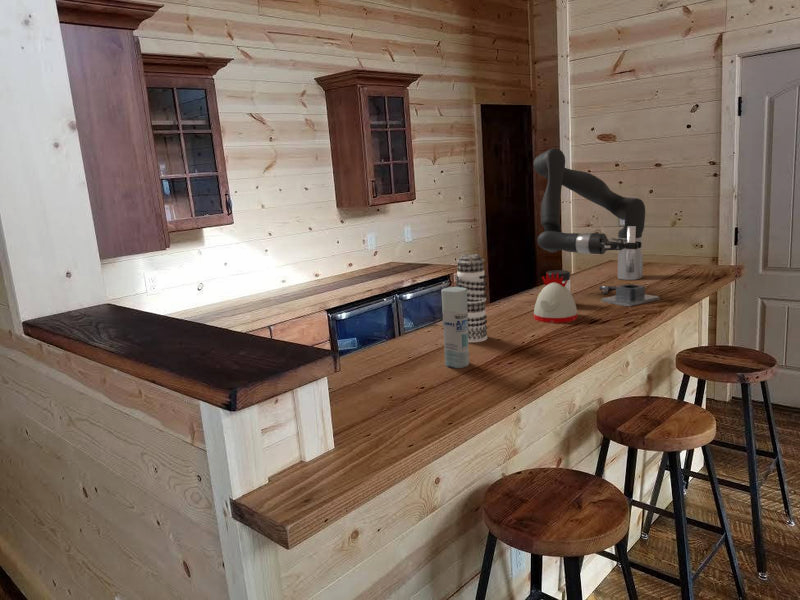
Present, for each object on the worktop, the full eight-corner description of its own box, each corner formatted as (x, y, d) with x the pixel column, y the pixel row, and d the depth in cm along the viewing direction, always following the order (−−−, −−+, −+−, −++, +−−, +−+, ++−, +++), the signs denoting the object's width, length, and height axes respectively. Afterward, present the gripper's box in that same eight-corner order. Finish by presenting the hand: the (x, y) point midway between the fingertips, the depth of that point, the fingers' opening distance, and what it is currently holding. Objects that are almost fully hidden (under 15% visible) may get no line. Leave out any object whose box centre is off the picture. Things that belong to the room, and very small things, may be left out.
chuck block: (631, 294, 231) (631, 281, 230) (659, 299, 221) (659, 285, 220) (601, 301, 224) (601, 287, 223) (628, 306, 213) (628, 292, 212)
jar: (575, 305, 221) (575, 271, 218) (561, 309, 216) (561, 275, 213) (554, 301, 227) (554, 269, 225) (540, 305, 222) (540, 272, 220)
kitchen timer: (541, 311, 214) (541, 268, 211) (582, 314, 207) (582, 269, 204) (527, 321, 203) (527, 275, 200) (570, 324, 196) (570, 277, 193)
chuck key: (600, 289, 244) (600, 284, 244) (616, 289, 242) (616, 284, 241) (596, 294, 235) (596, 289, 235) (613, 294, 233) (613, 289, 233)
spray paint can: (453, 359, 168) (450, 286, 163) (474, 362, 164) (471, 287, 159) (439, 365, 163) (436, 290, 159) (460, 369, 159) (457, 292, 155)
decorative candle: (479, 332, 192) (476, 252, 187) (494, 339, 184) (492, 255, 178) (452, 337, 189) (449, 255, 184) (466, 344, 180) (463, 258, 175)
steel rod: (629, 270, 222) (630, 225, 219) (636, 271, 220) (637, 226, 216) (624, 271, 221) (625, 226, 217) (630, 272, 218) (631, 227, 215)
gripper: (583, 235, 221) (632, 237, 210) (599, 231, 232) (646, 232, 221) (583, 256, 223) (631, 259, 212) (598, 251, 233) (646, 253, 222)
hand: (639, 245), depth 216 cm, fingers closed on steel rod, 3 cm apart
